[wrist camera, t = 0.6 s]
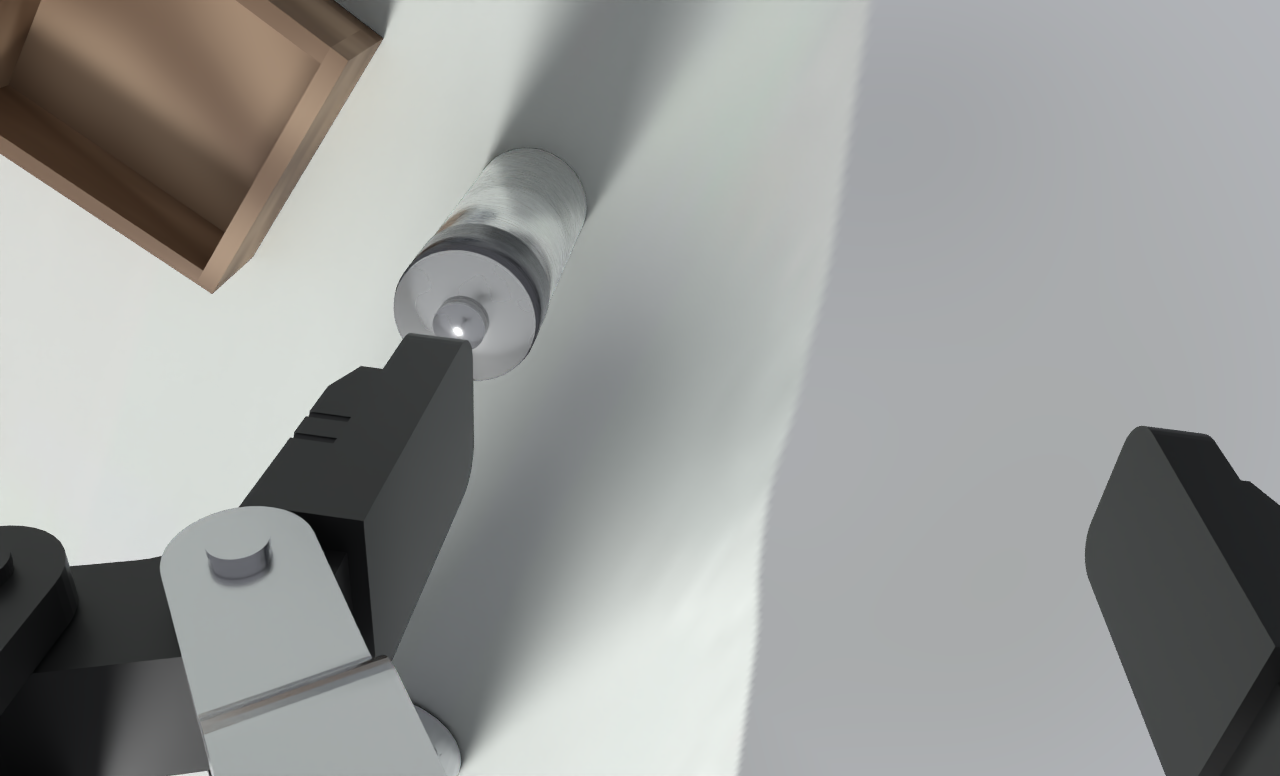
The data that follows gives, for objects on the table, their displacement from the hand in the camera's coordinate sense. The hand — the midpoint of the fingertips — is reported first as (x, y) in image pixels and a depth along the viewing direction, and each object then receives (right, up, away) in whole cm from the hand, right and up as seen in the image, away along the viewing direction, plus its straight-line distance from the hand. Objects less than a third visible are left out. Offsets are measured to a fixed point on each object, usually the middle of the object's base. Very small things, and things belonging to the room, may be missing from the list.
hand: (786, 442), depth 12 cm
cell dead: (-6, +8, +27) cm, 28 cm away
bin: (-19, +13, +25) cm, 34 cm away
